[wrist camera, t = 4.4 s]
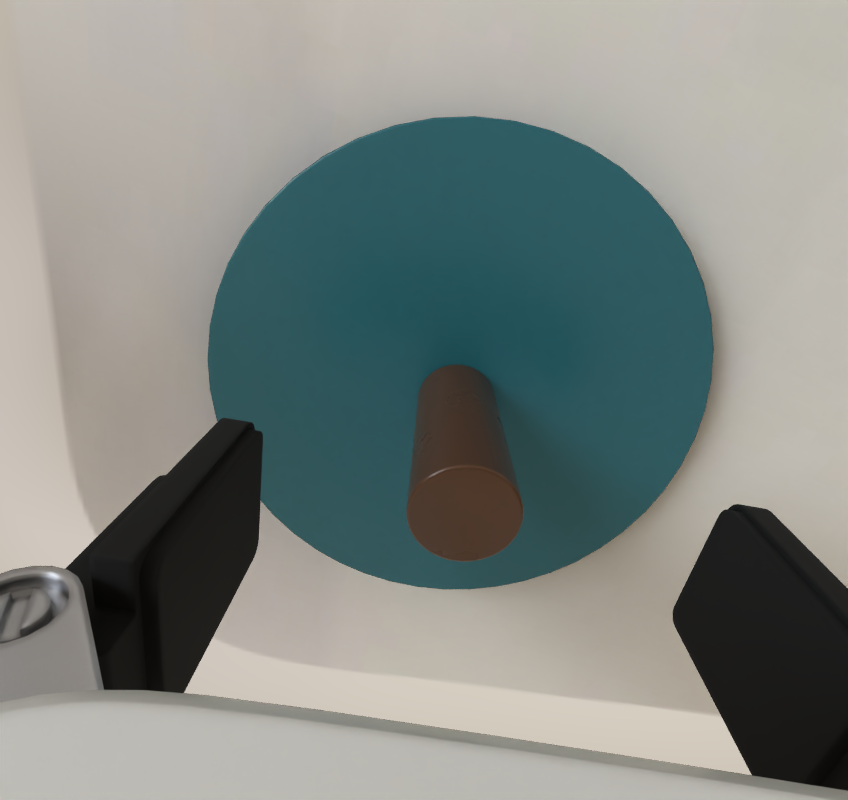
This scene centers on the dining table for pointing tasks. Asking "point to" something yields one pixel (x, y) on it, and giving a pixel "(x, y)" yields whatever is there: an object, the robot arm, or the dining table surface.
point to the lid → (462, 351)
